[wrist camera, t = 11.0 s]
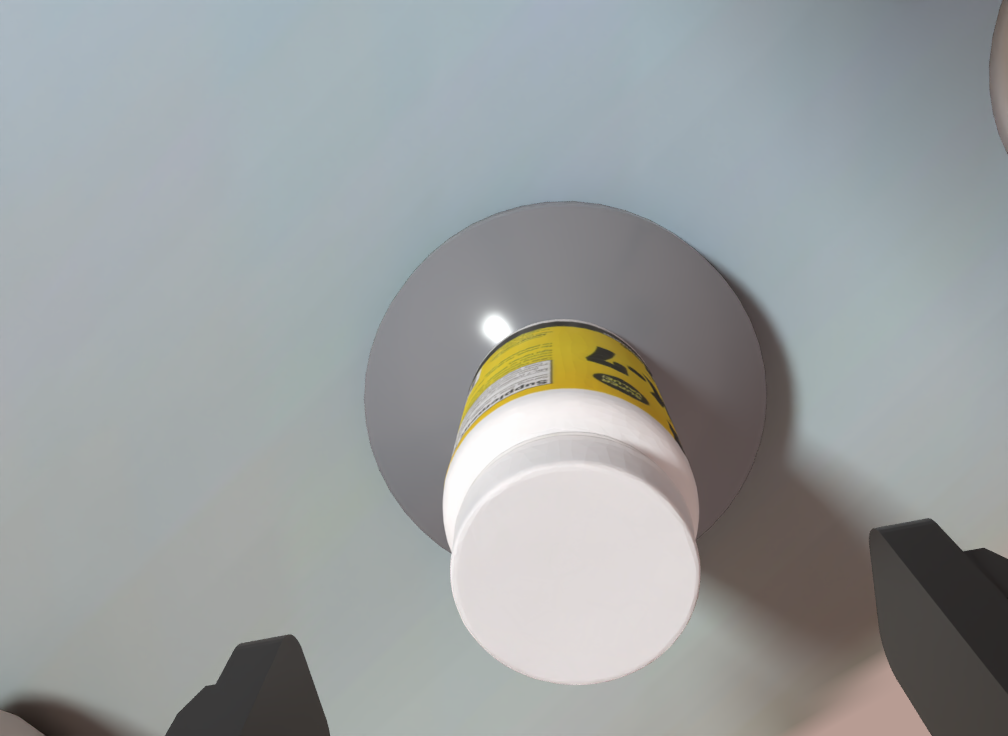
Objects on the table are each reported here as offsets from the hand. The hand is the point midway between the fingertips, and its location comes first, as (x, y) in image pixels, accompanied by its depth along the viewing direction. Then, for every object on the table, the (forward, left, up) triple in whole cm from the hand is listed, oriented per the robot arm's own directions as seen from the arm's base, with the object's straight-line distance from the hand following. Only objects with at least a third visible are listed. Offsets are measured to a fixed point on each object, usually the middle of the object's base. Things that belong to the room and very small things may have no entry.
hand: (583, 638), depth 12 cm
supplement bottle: (0, 0, -10) cm, 10 cm away
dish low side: (0, 0, -11) cm, 11 cm away
